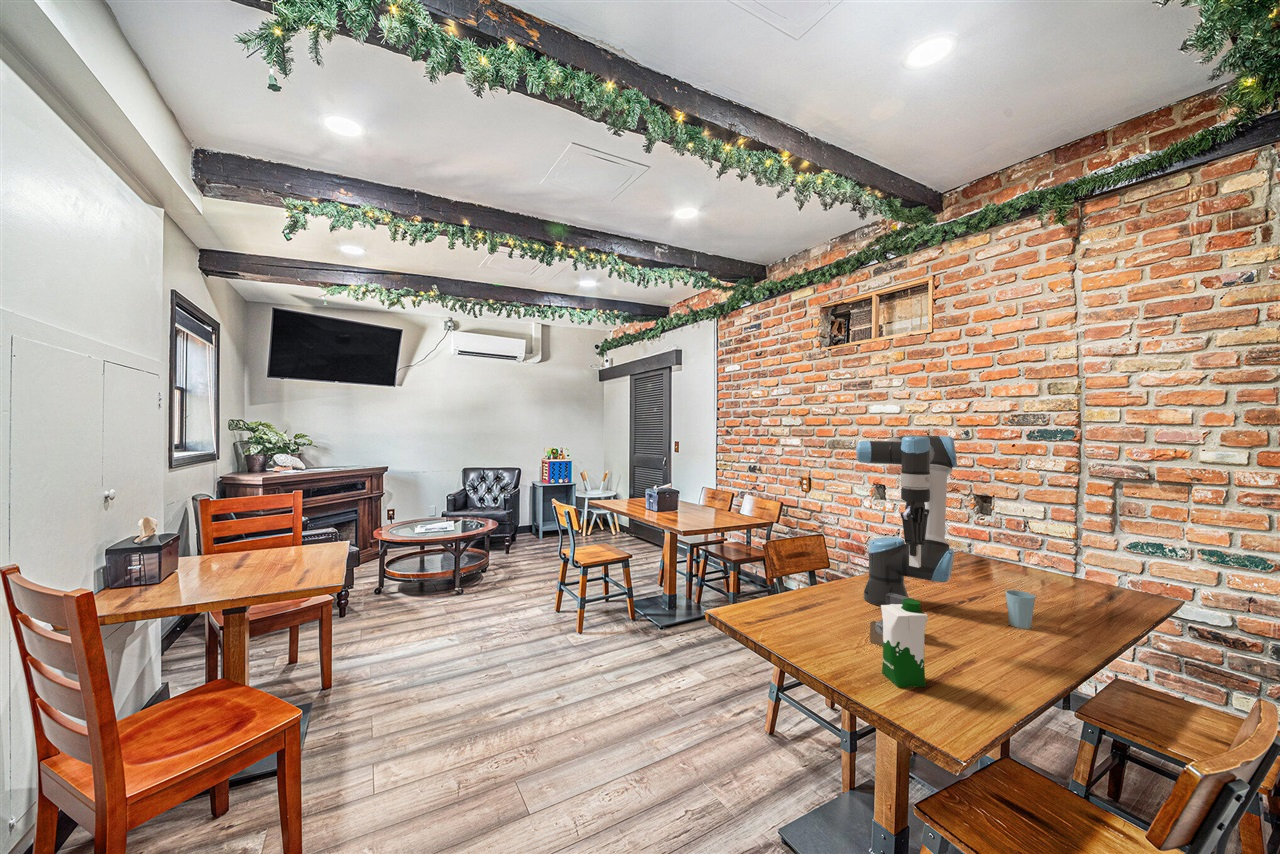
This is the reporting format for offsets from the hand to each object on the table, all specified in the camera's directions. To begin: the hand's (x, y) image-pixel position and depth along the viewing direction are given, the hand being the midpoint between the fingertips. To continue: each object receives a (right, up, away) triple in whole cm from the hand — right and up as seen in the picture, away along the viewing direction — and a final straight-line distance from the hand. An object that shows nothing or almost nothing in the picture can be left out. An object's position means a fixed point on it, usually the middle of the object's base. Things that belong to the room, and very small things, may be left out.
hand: (914, 566), depth 144 cm
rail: (-5, -23, +3) cm, 24 cm away
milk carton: (-16, -23, -22) cm, 35 cm away
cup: (+42, -24, +13) cm, 50 cm away
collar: (-2, -23, +5) cm, 23 cm away
